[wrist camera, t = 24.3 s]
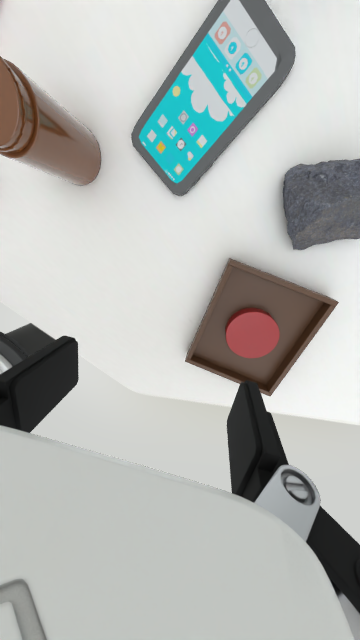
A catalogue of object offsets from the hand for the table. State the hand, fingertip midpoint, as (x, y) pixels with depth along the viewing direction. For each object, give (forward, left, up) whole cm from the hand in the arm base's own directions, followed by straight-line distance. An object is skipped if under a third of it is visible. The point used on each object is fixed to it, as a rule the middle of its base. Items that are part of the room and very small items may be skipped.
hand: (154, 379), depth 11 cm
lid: (-1, -9, -16) cm, 19 cm away
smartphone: (+19, +6, -18) cm, 27 cm away
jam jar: (+11, +19, -18) cm, 28 cm away
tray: (-1, -9, -18) cm, 20 cm away
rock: (+15, -9, -18) cm, 25 cm away
